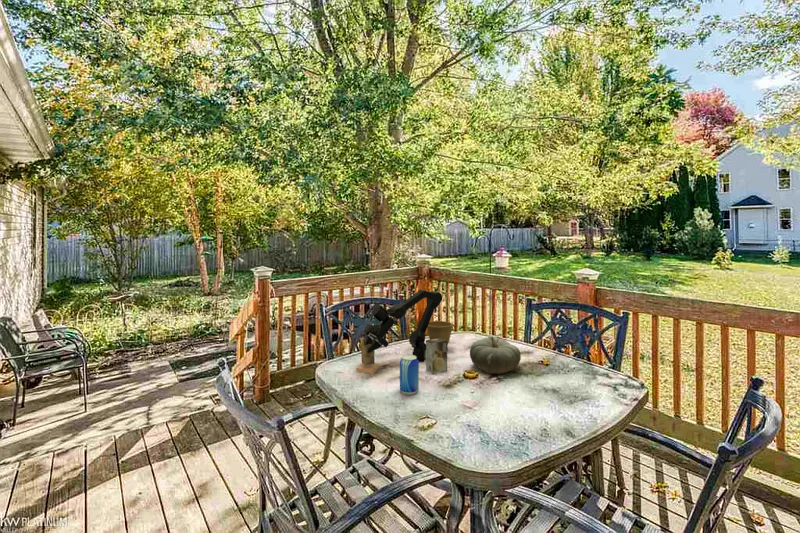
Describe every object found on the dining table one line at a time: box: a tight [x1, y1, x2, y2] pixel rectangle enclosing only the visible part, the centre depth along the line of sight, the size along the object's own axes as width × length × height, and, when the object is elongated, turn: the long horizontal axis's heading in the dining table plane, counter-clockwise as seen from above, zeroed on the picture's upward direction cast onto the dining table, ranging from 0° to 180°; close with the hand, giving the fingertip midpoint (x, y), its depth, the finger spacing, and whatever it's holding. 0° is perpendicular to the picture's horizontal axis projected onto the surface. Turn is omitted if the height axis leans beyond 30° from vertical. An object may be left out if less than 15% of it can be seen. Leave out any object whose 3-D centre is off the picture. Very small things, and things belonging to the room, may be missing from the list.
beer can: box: [399, 354, 420, 396], centre depth 185 cm, size 8×8×16 cm
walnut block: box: [360, 344, 376, 365], centre depth 212 cm, size 5×5×9 cm
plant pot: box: [426, 320, 453, 347], centre depth 244 cm, size 15×15×16 cm
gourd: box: [469, 335, 522, 375], centre depth 214 cm, size 25×25×17 cm
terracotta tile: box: [355, 362, 380, 375], centre depth 213 cm, size 9×9×2 cm
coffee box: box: [425, 338, 448, 375], centre depth 211 cm, size 9×6×16 cm
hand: (365, 351), depth 211 cm, fingers closed on walnut block, 5 cm apart
